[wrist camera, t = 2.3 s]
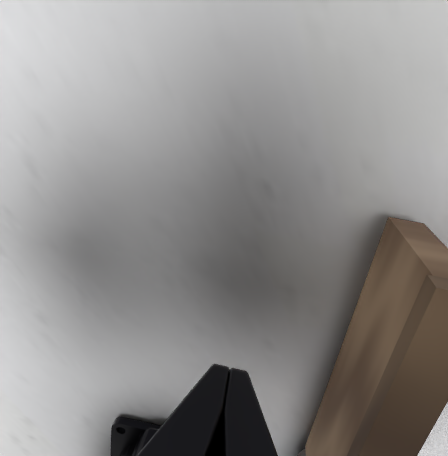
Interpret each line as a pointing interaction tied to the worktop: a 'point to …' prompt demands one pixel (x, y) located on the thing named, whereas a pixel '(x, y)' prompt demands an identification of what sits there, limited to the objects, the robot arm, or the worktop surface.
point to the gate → (390, 353)
